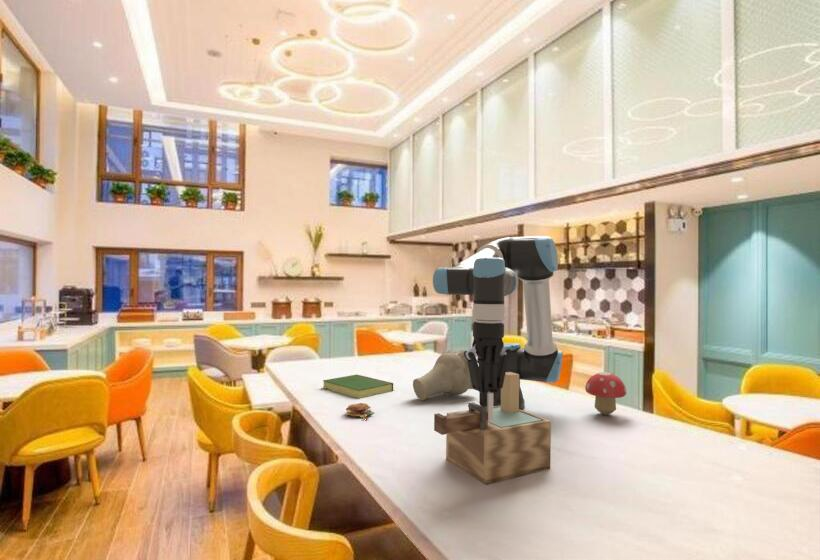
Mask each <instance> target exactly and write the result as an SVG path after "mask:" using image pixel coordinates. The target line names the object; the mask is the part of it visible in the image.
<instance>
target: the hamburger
mask: <svg viewBox="0 0 820 560" xmlns="http://www.w3.org/2000/svg"><path fill="white" fill-rule="evenodd" d="M345 410H346V412H345V417H347V416H348V415H349V416H350V417H353V418H362V421H364V420H365V419H366V420H365V422H367V420H368V421H369V417H367V416H369V415H372V414H374V413H375V412H374V411H373V410H372V407H371V406H369V404H367V403H364V402H359V403H353V404H349V405H348V407H346V408H345ZM363 418H364V419H363Z"/></svg>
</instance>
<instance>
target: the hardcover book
mask: <svg viewBox="0 0 820 560" xmlns="http://www.w3.org/2000/svg"><path fill="white" fill-rule="evenodd" d="M322 382H323V389H326V388H328V389H327V390H329V389H330V390H329V391H332V390H334V391H333V392H336V391H337V392H336V393H339V392H340V394H342V395H346V396H350V397H354V398H357V399H362V398H365V397H370V396H375V395H379V394H383V393H384V394H385V393H388V391H389V392H393V391H394V382H390V381H386V380H381V379H377V378H373V377H370V376H366V375H365V376H364V375H361V374H352V375H346V376H339V377H334V378H329V379H323V380H322Z"/></svg>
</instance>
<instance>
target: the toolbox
mask: <svg viewBox="0 0 820 560" xmlns="http://www.w3.org/2000/svg"><path fill="white" fill-rule="evenodd" d="M498 407H501V405H499V406H493V408H498ZM467 408H468V409H465V410H459V411H458V410H457V411H452V412H447V413H446V415H453V414H460V413H466V412H473V411H478V412H480V428H474V429H468V430H462V431H456V432H451V433H447V434H445V435H446V437H445V439H446V440H445V441H446V442H445V459H446V460H447V461H448V462H450V463H451V464H453V465H455V466H457V467H458V468H460V470H463V472H466V473H467V474H469V475H471V476H472V477H474V478H475V479H476V480H478V481H480V482H482V483H483V484H484V485H490V484H493V483H498V482H502V481H506V480H510V479H515V478H518V477H522V476H523V477H524V476H527V475H531V474H534V473H535V474H536V473H539V472H543V471H547V470H551V455H552V454H551V447H552V446H551V445H552V437H551V436H552V420H550V419H548V418H545V417H542V416H539V415H536V414H535V413H534V414H533V413H532V412H528V411H526V410H523V409H519V412H522V413H525V414H527V415H530V416H533V417H535V418H538V419H541V420H542V421H538V422H532V423H527V424H521V425H515V426H510V427H504V428H500V427H498V426H496V425H493V424H491V423H489V422H488V426H486V408H485V407H483V406H481V405H480V404H477V403H475V402H467Z"/></svg>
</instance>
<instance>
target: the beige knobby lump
mask: <svg viewBox="0 0 820 560" xmlns="http://www.w3.org/2000/svg"><path fill="white" fill-rule="evenodd" d="M464 351H465V350H461V351H459V352H457V353H456V351H455V350H453V349H448V351H447V352H445V353H442V354H441V355H439V356H438V358H437V359H436V361H435V363H434V365H433V367H432V369H430V371H428V372H427V373H426V374H424V375H422V376H420V377H417V378H415V379H413V380H412V387H413V392H414V394H415V396H416V397H417V398H418V400H420V401H425V400H427V399H429V398H430V397H433V396H435V395H440V394H450V395H453V396H454V395H462V394H465V393H467V391H469V390H474V389H473V388H472V383H471V378H470V373H469V367H468V362H467V359H466V357H465V356H464Z"/></svg>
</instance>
